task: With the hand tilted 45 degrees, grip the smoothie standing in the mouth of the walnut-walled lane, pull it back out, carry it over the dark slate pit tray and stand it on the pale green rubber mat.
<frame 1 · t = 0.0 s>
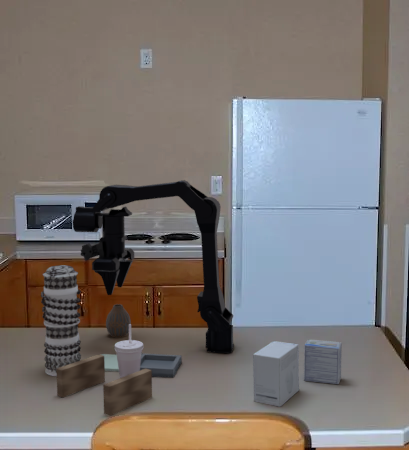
hand: (114, 290, 172), 15 cm above the table, tool pointing down, fingers open, 9 cm apart
skincare box: (276, 396, 139), on the table
lane: (104, 396, 139), on the table
medicine box: (322, 380, 148), on the table
smoothie: (129, 387, 144), on the table
mat: (115, 363, 159), on the table
pit tray: (157, 369, 155), on the table
decorative candle: (63, 370, 155), on the table
vase: (118, 336, 182), on the table
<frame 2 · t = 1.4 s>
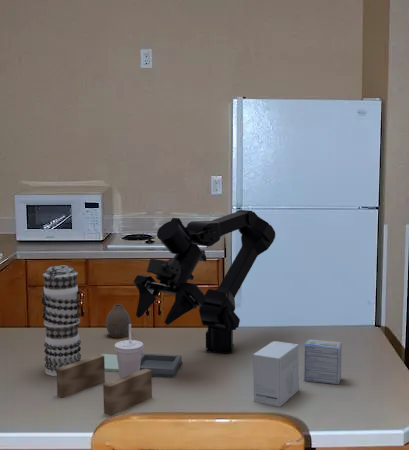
hand: (151, 320, 149), 13 cm above the table, tool tilted 45°, fingers open, 9 cm apart
nothing on the table moved.
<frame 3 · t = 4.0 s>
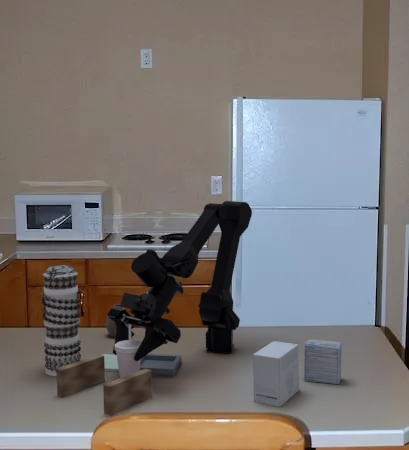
hand: (124, 357, 142), 7 cm above the table, tool tilted 45°, fingers closed on smoothie, 6 cm apart
smoothie: (129, 387, 144), on the table, touching gripper
everything else where it was.
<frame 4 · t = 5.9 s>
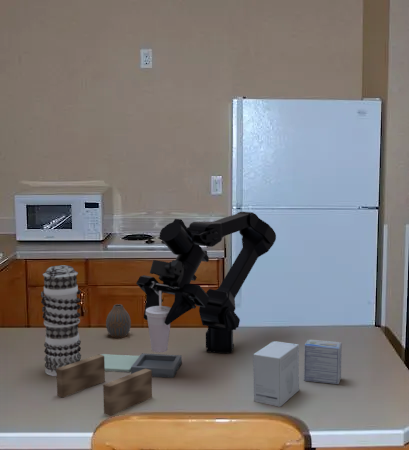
hand: (155, 321, 149), 13 cm above the table, tool tilted 45°, fingers closed on smoothie, 6 cm apart
smoothie: (159, 350, 152), point 6 cm above the table, touching gripper
everything else where it was.
when the fingers open (9 cm above the table, at t = 8.2 s): smoothie stays where it is, resting on mat.
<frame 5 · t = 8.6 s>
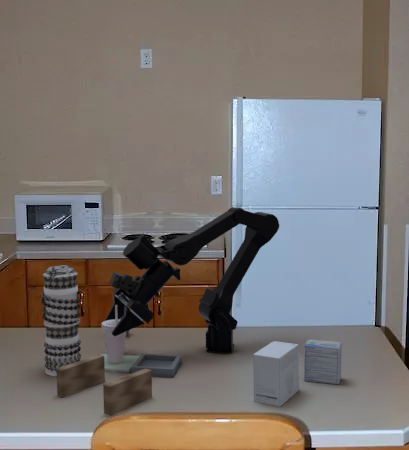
hand: (108, 329, 157), 9 cm above the table, tool tilted 45°, fingers open, 9 cm apart
smoothie: (115, 361, 159), resting on mat
everything else where it was.
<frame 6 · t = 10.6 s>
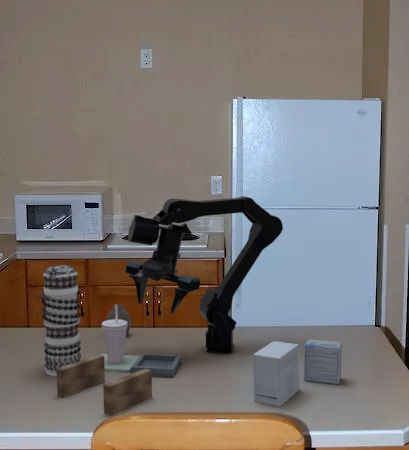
hand: (155, 308, 164), 12 cm above the table, tool pointing down, fingers open, 9 cm apart
nothing on the table moved.
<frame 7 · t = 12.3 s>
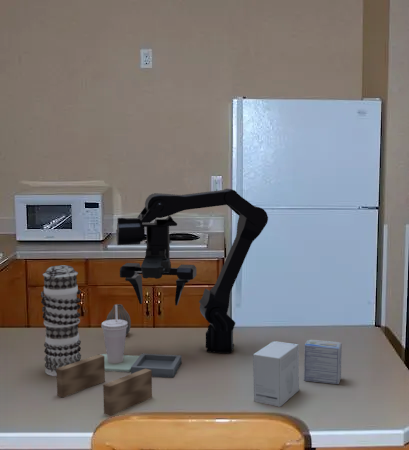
hand: (158, 304, 165), 13 cm above the table, tool pointing down, fingers open, 9 cm apart
nothing on the table moved.
at the end: smoothie inside the target area on the mat (0.4 cm from its centre), point 0.4 cm above the mat's base; smoothie tilted 0°; the gripper is holding nothing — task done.
